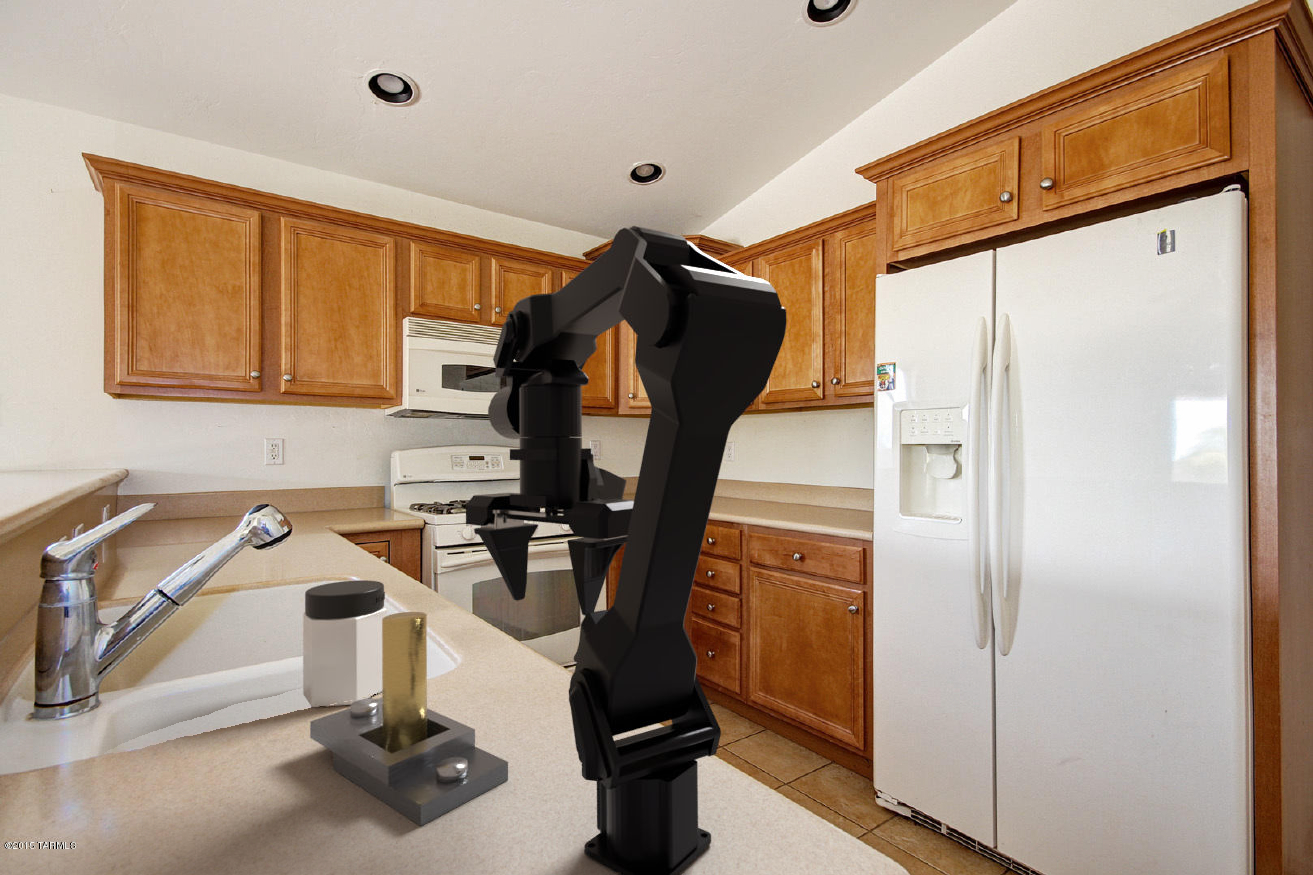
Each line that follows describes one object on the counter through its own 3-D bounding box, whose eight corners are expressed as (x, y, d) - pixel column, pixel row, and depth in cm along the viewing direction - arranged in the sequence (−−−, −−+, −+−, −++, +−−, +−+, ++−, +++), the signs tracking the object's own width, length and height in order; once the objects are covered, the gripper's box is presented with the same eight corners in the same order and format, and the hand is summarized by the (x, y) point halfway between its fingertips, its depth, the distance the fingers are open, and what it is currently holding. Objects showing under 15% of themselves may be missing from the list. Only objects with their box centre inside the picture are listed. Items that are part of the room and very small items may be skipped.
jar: (395, 695, 71) (395, 588, 71) (314, 715, 65) (314, 600, 66) (372, 673, 78) (372, 576, 78) (298, 690, 72) (297, 586, 73)
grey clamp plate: (508, 779, 52) (507, 733, 52) (420, 826, 46) (420, 773, 46) (393, 723, 63) (393, 685, 63) (310, 754, 57) (310, 712, 57)
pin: (435, 758, 56) (434, 612, 56) (410, 779, 52) (409, 623, 53) (400, 754, 57) (399, 610, 57) (373, 774, 53) (372, 621, 54)
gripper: (683, 436, 59) (685, 603, 58) (547, 439, 70) (548, 579, 70) (602, 435, 50) (604, 632, 50) (462, 439, 61) (462, 599, 61)
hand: (552, 606), depth 58 cm, fingers open, 9 cm apart
